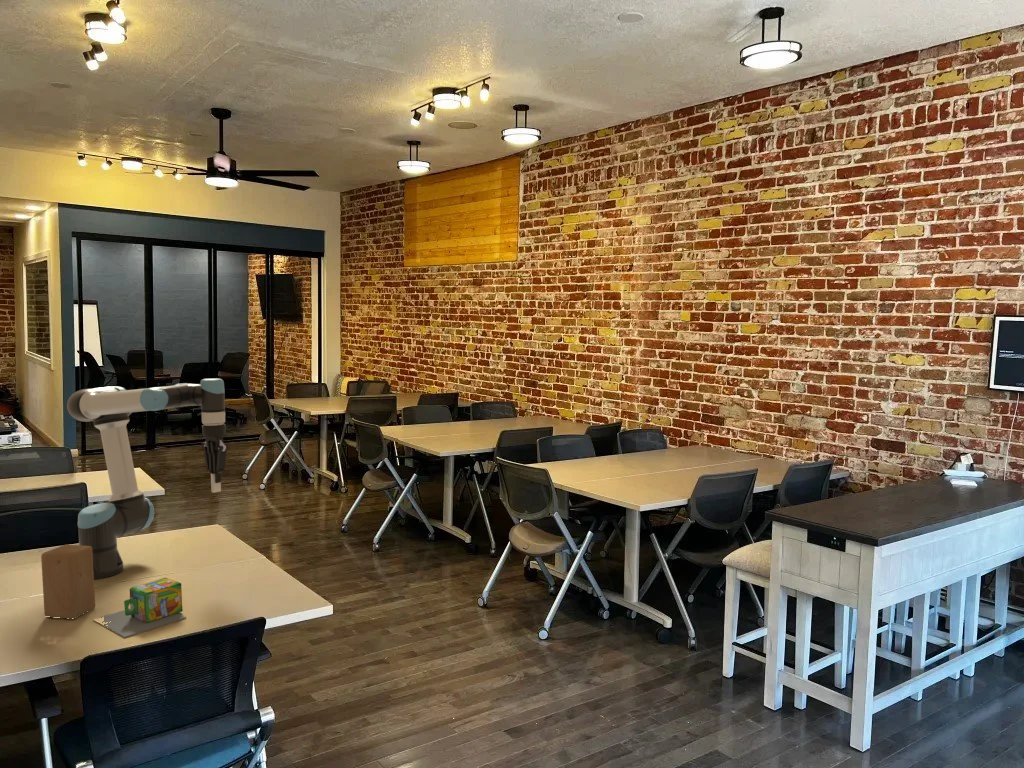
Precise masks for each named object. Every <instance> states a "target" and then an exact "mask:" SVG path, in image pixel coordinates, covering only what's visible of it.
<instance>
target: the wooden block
mask: <svg viewBox="0 0 1024 768" xmlns="http://www.w3.org/2000/svg"><path fill="white" fill-rule="evenodd" d="M40 558H41V574H42V575H41V576H42V593H43V594H42V596H43V610H44V612H43V614H44V617H45V616H50V617H60V618H69V619H72V618H75V617H77V616H79V615H81V614H83V613H85V614H86V612H87V611H89V612H91V611H93V610H94V609H95V607H96V597H95V594H96V593H95V579H94V572H93V552H92V547H91V546H82V545H79V544H78V545H77V544H67V543H65V544H64V545H61V546H58V547H55V548H53V549H50V550H48V551H45V552H42V553H41V556H40ZM92 609H93V610H92ZM90 610H91V611H90ZM87 613H88V612H87ZM83 615H84V614H83ZM81 616H82V615H81ZM79 617H80V616H79ZM77 618H78V617H77ZM75 619H76V618H75Z"/></svg>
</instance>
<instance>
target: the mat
mask: <svg viewBox="0 0 1024 768" xmlns="http://www.w3.org/2000/svg"><path fill="white" fill-rule="evenodd" d="M129 610H130V608H129ZM103 616H104V621H103V622H105V623H106V622H108V623H107V624H104V626H106V625H108V626H106V627H108V628H109V629H111V630H113V631H114V632H116V633H117V634H116V633H115V634H116V635H118V634H119V635H118V636H119V637H121V636H122V638H123V639H127V638H130V637H133V636H136V635H139V634H143V633H145V632H149V631H152V630H156V629H157V628H161V627H164V626H166V625H170V624H174V623H176V622H180V621H182V620H183V621H184V620H187V616H185V615H183V614H180V613H176V614H173V615H170V616H167V617H163V618H160V619H157V620H154V621H151V622H148V623H145V622H143V621H141V620H138V619H136V618H134V617H132V616H131V615H128V616H126V615H125V609H123V610H120V611H117V612H113V613H110V614H106V615H103ZM103 616H100V617H101V618H102V617H103ZM110 621H111V622H110ZM103 622H102V623H103ZM109 622H110V623H109ZM104 626H103V627H104ZM106 627H105V628H106ZM109 629H108V630H109ZM111 630H110V631H111ZM113 631H112V632H113ZM114 632H113V633H114Z"/></svg>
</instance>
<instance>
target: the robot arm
mask: <svg viewBox="0 0 1024 768" xmlns="http://www.w3.org/2000/svg"><path fill="white" fill-rule="evenodd" d="M225 391H226V390H225V382H224V380H223V379H222V378H217V377H216V378H215V377H214V378H203V379H201V380H200V383H188V382H183V383H176V384H174V385H168V386H167V385H166V386H165V385H164V386H154V387H153V386H152V387H148V388H147V387H146V388H138V389H126V388H125V387H122V386H117V385H115V386H113V385H111V386H110V385H109V386H104V387H103V386H102V387H94V388H83V389H80V390H77V391H75V392H74V393H72V394H71V395H70V396H69V398H68V400H67V402H66V403H67V404H66V408H67V411H68V413H69V416H71V417H72V418H74V419H75V420H77V421H80V422H86V423H89V422H93V427H95V428H96V429H97V430H99V431H100V438H101V442H102V448H103V454H104V459H105V464H106V465H105V466H106V470H107V474H108V479H109V485H110V486H109V487H110V489H111V490H110V491H111V496H110V498H109V499H108V502H103V503H101V502H100V503H98V504H96V503H95V504H92V505H88V506H86V507H84V508H82V509H81V510H80V511H79V513H78V514H77V528H78V529H77V531H78V532H77V533H78V545H82V546H91V547H92V552H93V572H94V580H96V579H98V578H99V579H104V578H108V577H113V576H115V575H118V574H120V573H122V572H123V571H124V566H125V565H124V561H123V559H122V556H121V555H120V551H119V549H118V544H117V543H118V541H117V540H118V538H121V537H125V536H127V535H129V534H133V533H138V532H141V531H142V530H145V529H147V528H148V527H149V526H150V525H151V524H152V522H153V520H154V517H155V508H154V504H153V502H151V500H150V499H149V498H147V497H145V494H144V492H142V491H141V490H139V487H138V483H137V478H136V477H137V476H136V472H135V467H134V461H133V455H132V449H131V444H130V440H129V436H128V435H129V434H128V428H127V424H129V422H130V415H132V413H138V412H150V411H151V412H157V411H161V410H167V409H174V408H175V409H176V408H184V407H189V406H195V407H196V406H198V407H201V423H202V424H203V425H201V429H202V430H201V432H202V436H203V437H205V441H204V442H201V447H202V450H203V456H204V462H205V470H206V471H209V473H210V486H211V488H210V489H211V491H210V492H211V493H214V494H215V493H220V492H222V486H221V485H222V483H221V482H222V478H221V474H222V473H223V472H225V470H226V459H227V453H228V448H229V446H228V445H227V444H226V445H225V444H224V438H223V436H225V435H226V434H227V429H226V428H227V427H226V424H225V423H226V406H225V405H226V404H225V400H226V399H225V398H226V397H225V396H226V395H225V394H226V393H225ZM99 579H98V580H99Z"/></svg>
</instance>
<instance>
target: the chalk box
mask: <svg viewBox="0 0 1024 768" xmlns="http://www.w3.org/2000/svg"><path fill="white" fill-rule="evenodd" d="M182 592H183V591H182V582H179V581H177V580H175V579H171V578H168V577H163V578H159V579H155V580H152V581H149V582H145V583H142V584H138V585H135V586H134V585H133V586H130V588H129V599H125V600H124V601H123V605H124V610H125V615H126V616H128V615H131V616H132V617H134V618H136V619H138V620H141V621H143V622H145V623H148V622H151V621H154V620H157V619H160V618H163V617H167V616H170V615H173V614H176V613H178V614H180V613H181V612H183V610H184V609H183V596H182V594H183V593H182ZM129 606H130V607H129ZM129 609H130V610H129Z"/></svg>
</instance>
